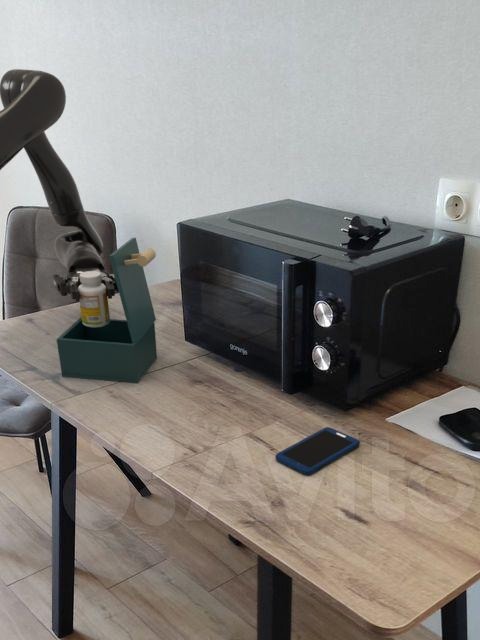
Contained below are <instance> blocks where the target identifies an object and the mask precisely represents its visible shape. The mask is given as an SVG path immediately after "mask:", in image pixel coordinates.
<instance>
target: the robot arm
mask: <svg viewBox="0 0 480 640" xmlns="http://www.w3.org/2000/svg"><path fill="white" fill-rule="evenodd" d="M0 101H1V105H2V107H3V108H2V109H1V110H0V171H1V170H2V169H3V168H4V167H6V166H7V165H8V164H9V163H10V162H11V161H12V160H13V159H14V158H15V157H16V156H17V155H18V154H19V153H20V152H21V151H22V150H23V149H24V151H25V153H26V155H27V157H28V159H29V162H30V163H31V165H32V167H33V169H34V171H35V174H36V176H37V178H38V180H39V183H40V185H41V189H42V190H43V194H44V197H45V200H46V204H47V206H48V209H49V212H50V214H51V217H52V220H53V221H54V223H55V225H57V226H60V227H67V228H68V227H74V228H77V229H78V230H74V231H69V232H66V233H62V234H60V235H58V236H56V238H55V240H54V243H53V245H54V246H53V247H54V253H55V255H56V257H57V259H58V260H59V262H60V263H61V264H62V265H63V266H64V267H65V268H66V273H67V275H66V277H64V276H63V275H60V274H56V273H55V274H53V275H52V279H53V285H54V286H53V287H54V289H55V290H56V291H57V292H58V293H59V295H60V296H62V297H66V296H68V294H69V295H70V297H71V299H72V300H75V302H79V301H80V298H79V291H78V287H79V286H80V285H81V284H82V283H81V282H80V274H81V273H83V272H86V271H97V272H100V273H101V277H102V281H101V283H103V284H104V285H105V286H106V290H107V298H108V300H111V299H113V297H115V296H116V292H118V293H119V290H118V287H117V283H116V279H115V276H114V273H110V272H109V271H107V270H106V268H105V267H106V266H105V265H104V263H103V259H102V258H101V257H102V256H103V254H104V244H103V241H102V239H101V237H100V235H99V233H98V232H97V231H96V229H95V227H94V226H93V224H92V222H91V221H90V219H89V218H88V215H87V214H86V211H85V208H84V205H83V203H82V199H81V196H80V191H79V188H78V186H77V183H76V181H75V179H74V177H73V175H72V173H71V172H70V170H69V168H68V167H67V165H66V164H65V163H64V162H63V160H62V159H61V157H60V155H59V154H58V153H57V151H56V150H55V148H54V147H53V145H52V144H51V142H50V140H49V138H48V136H47V134H46V130H48V129H50V128H51V127H53V126H54V125H55V124H56V123H57V122H58V121H59V120H60V118H62V115H63V113H64V111H65V108H66V103H67V94H66V90H65V86H64V84H63V83H62V82H61V80H60V79H59V78H58V77H56V76H55V75H54V74H53V73H49V72H46V71H44V70H36V69H35V70H34V69H23V68H22V69H20V68H16V69H15V68H13V69H10V70H8V71H6V72H5V73H4V74H3V76H1V79H0Z"/></svg>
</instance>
